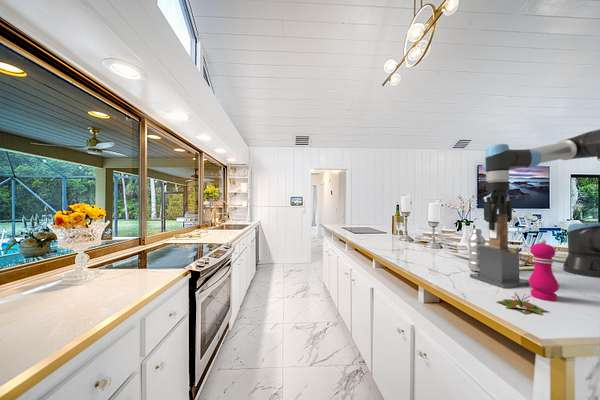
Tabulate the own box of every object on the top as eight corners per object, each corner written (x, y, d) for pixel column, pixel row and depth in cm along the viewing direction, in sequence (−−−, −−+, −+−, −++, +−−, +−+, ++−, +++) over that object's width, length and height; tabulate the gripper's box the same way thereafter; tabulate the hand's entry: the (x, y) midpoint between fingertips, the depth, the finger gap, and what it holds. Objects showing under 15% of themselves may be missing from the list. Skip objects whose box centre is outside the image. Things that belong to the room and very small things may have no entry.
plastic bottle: (468, 268, 118) (467, 228, 119) (485, 270, 114) (485, 229, 115) (468, 271, 113) (467, 229, 114) (486, 274, 109) (485, 230, 110)
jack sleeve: (495, 275, 107) (494, 244, 108) (531, 285, 94) (530, 249, 94) (469, 277, 104) (469, 245, 105) (503, 288, 91) (503, 251, 91)
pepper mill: (565, 302, 78) (564, 240, 78) (539, 300, 79) (538, 240, 79) (547, 294, 85) (546, 237, 85) (523, 292, 86) (522, 237, 86)
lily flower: (517, 299, 81) (516, 286, 81) (560, 316, 69) (560, 300, 69) (486, 302, 79) (486, 288, 79) (526, 319, 67) (526, 302, 68)
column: (497, 271, 102) (496, 213, 102) (508, 274, 98) (507, 214, 98) (489, 272, 101) (488, 213, 101) (500, 275, 97) (499, 214, 97)
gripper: (504, 183, 105) (505, 235, 105) (472, 182, 102) (473, 237, 101) (523, 181, 98) (524, 238, 98) (489, 180, 94) (490, 239, 94)
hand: (498, 237), depth 99 cm, fingers closed on column, 4 cm apart
